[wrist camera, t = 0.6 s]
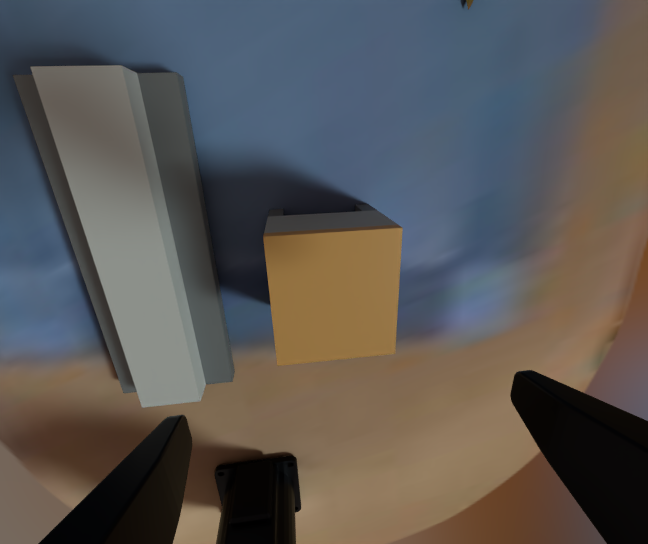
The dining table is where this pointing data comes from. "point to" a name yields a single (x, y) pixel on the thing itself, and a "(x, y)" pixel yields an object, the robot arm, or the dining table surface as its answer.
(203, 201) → the rail
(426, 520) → the dining table surface
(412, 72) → the dining table surface
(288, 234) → the block
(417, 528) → the dining table surface
